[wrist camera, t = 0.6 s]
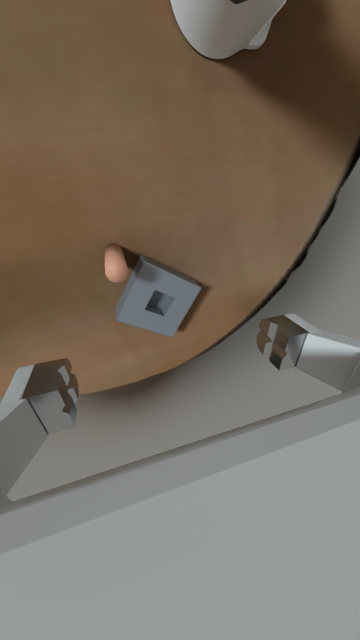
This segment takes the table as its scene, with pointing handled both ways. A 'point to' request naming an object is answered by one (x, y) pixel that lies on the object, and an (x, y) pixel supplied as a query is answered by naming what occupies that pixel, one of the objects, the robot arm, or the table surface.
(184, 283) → the socket block
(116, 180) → the table surface
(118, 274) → the peg
